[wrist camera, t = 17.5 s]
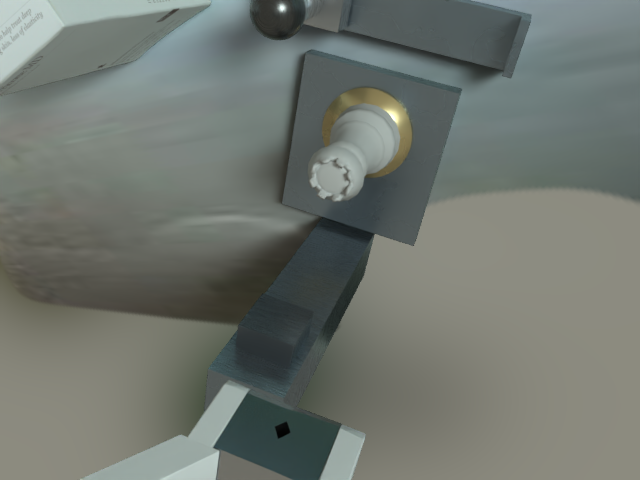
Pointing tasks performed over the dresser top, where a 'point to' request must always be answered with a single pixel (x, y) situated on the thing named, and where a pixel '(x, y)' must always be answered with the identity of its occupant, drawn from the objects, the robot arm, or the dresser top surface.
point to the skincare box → (80, 36)
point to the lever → (298, 16)
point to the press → (378, 188)
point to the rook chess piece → (353, 152)
